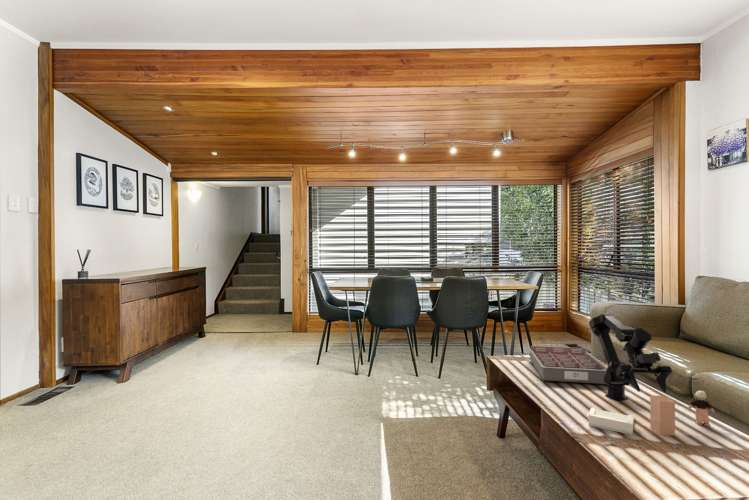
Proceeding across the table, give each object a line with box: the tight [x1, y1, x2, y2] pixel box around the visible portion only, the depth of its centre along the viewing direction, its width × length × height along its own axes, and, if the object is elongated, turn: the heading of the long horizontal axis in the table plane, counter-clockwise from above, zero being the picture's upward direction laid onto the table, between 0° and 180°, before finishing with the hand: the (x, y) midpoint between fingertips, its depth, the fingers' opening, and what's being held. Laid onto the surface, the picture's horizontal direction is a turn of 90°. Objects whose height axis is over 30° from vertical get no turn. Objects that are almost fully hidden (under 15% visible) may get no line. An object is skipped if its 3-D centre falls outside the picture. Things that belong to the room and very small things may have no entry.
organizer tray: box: [528, 345, 608, 385], centre depth 214 cm, size 32×40×10 cm
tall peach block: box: [649, 394, 676, 437], centre depth 144 cm, size 6×5×12 cm
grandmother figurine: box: [687, 390, 716, 427], centre depth 150 cm, size 8×4×13 cm, turn 71°
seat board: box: [588, 407, 635, 436], centre depth 152 cm, size 16×14×4 cm
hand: (652, 391), depth 151 cm, fingers open, 9 cm apart
